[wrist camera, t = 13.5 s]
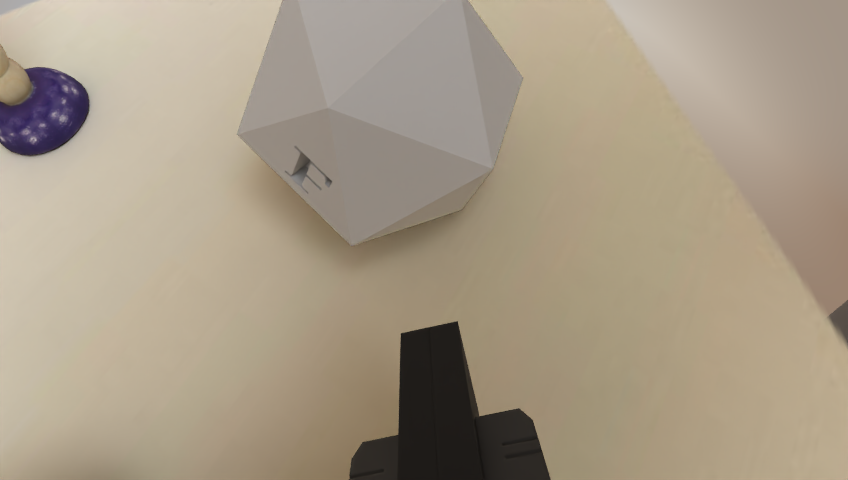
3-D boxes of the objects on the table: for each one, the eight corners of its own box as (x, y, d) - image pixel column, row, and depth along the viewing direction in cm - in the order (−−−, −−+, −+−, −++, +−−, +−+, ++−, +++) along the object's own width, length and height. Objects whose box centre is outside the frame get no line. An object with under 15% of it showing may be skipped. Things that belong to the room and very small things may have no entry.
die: (285, 113, 29) (132, 122, 20) (418, -59, 27) (314, -143, 17) (426, 250, 29) (339, 325, 20) (577, 91, 26) (561, 89, 17)
